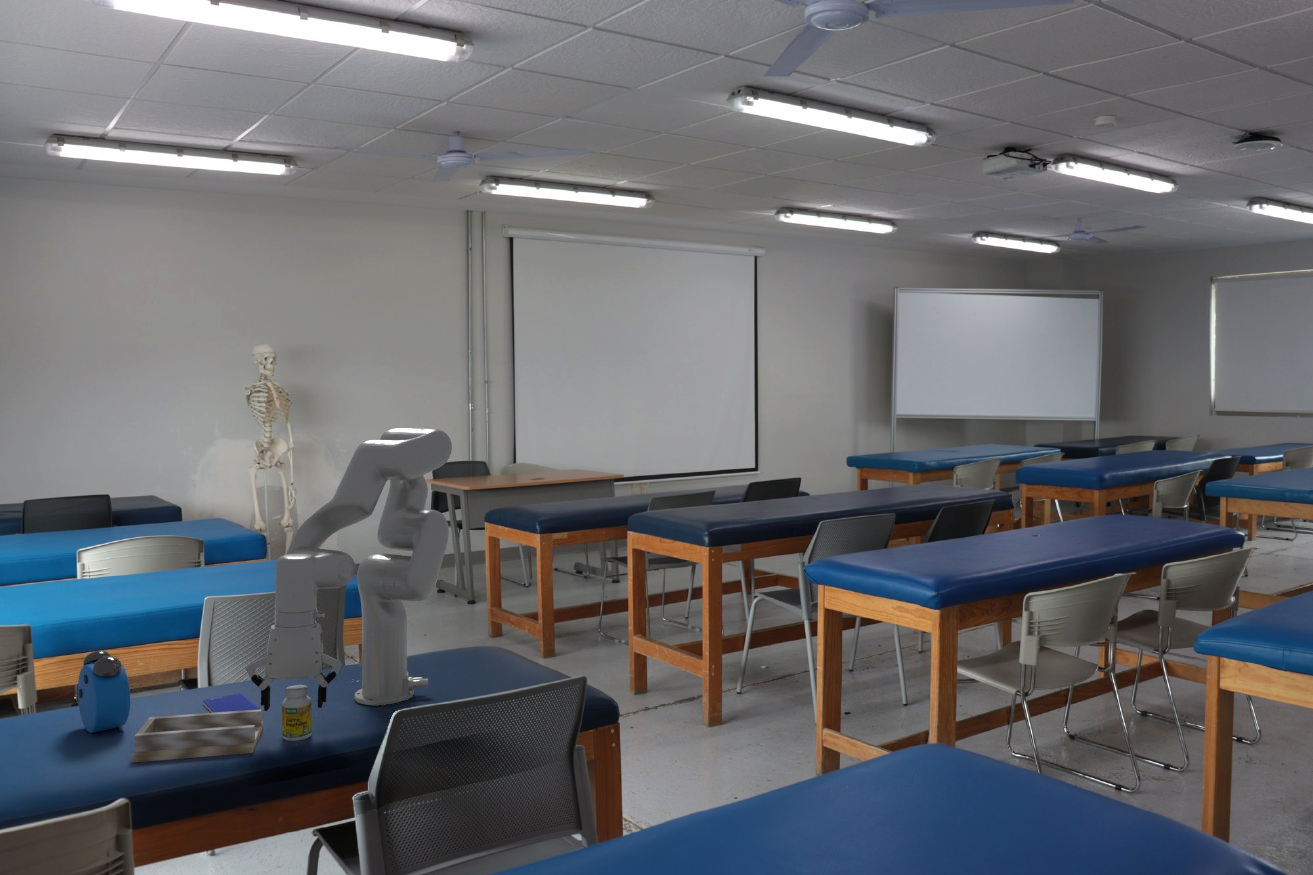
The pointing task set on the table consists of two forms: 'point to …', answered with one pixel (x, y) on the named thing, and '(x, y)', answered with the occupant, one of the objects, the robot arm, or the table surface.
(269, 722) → the table surface
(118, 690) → the alarm clock
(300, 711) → the supplement bottle
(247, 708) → the hard drive
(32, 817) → the table surface
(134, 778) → the table surface
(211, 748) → the rail holder
